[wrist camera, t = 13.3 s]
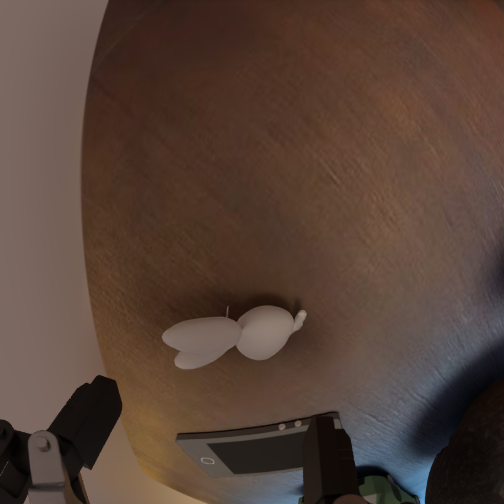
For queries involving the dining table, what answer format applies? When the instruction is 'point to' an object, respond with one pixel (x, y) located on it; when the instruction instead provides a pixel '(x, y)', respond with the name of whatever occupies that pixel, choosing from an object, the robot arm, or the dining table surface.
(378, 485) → the toy car
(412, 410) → the dining table surface
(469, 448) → the decorative sphere
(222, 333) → the rabbit figurine
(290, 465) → the smartphone
